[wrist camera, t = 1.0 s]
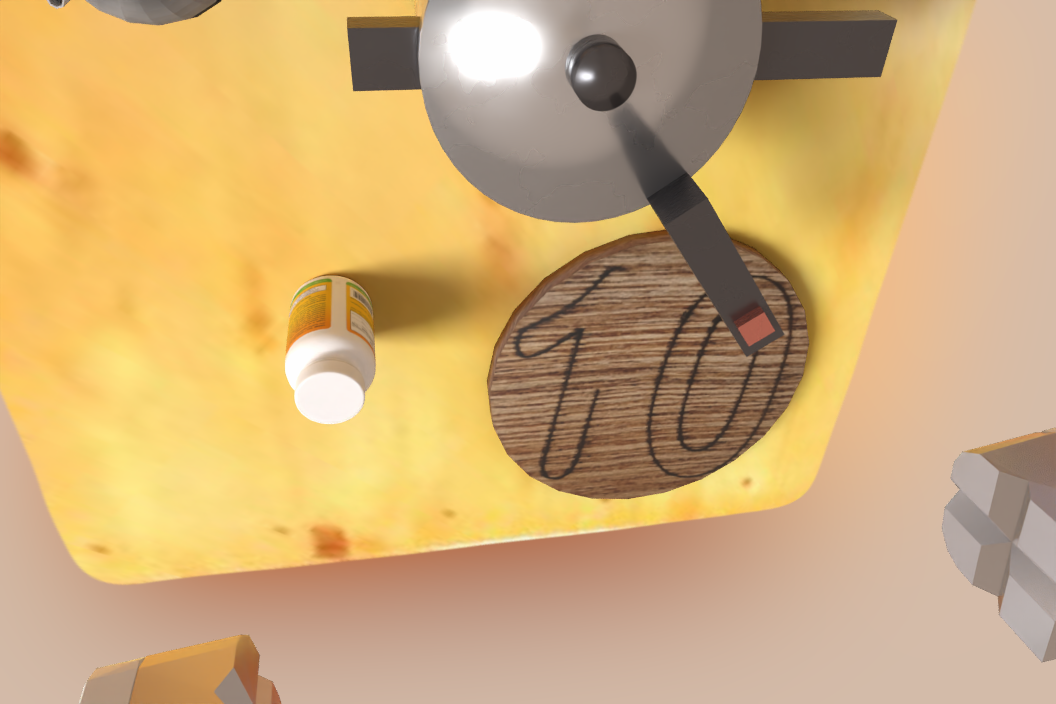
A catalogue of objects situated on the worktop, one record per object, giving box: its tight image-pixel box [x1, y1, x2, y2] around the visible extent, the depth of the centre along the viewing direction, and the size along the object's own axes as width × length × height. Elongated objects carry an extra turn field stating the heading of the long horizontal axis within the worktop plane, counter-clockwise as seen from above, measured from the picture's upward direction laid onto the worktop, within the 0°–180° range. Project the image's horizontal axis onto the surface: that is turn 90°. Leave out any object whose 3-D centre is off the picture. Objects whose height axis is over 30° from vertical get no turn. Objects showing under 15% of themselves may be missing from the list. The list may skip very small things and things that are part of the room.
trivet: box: [487, 230, 809, 499], centre depth 62 cm, size 25×25×2 cm
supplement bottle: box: [285, 275, 376, 424], centre depth 51 cm, size 5×5×10 cm
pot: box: [347, 0, 897, 91], centre depth 42 cm, size 16×27×9 cm, turn 88°
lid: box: [418, 0, 785, 357], centre depth 39 cm, size 16×26×5 cm, turn 33°
